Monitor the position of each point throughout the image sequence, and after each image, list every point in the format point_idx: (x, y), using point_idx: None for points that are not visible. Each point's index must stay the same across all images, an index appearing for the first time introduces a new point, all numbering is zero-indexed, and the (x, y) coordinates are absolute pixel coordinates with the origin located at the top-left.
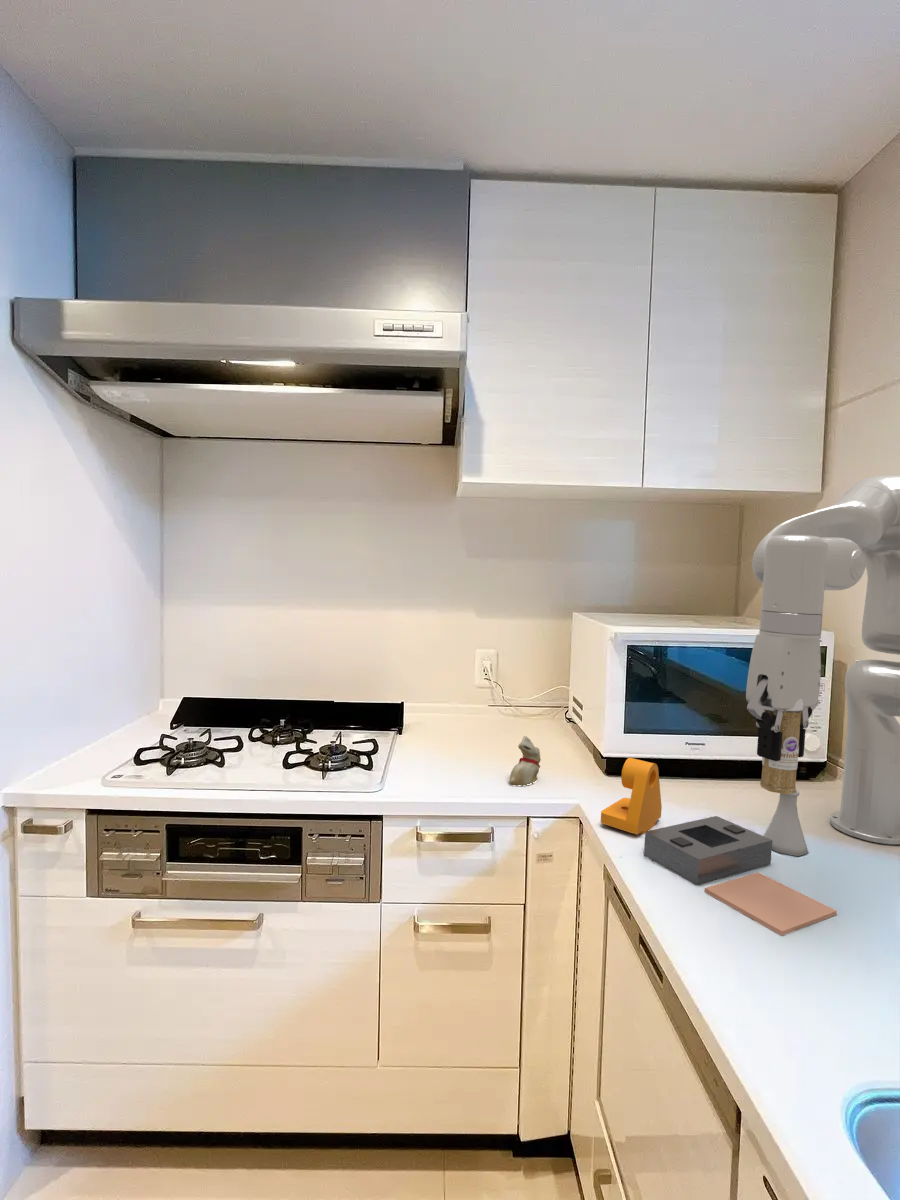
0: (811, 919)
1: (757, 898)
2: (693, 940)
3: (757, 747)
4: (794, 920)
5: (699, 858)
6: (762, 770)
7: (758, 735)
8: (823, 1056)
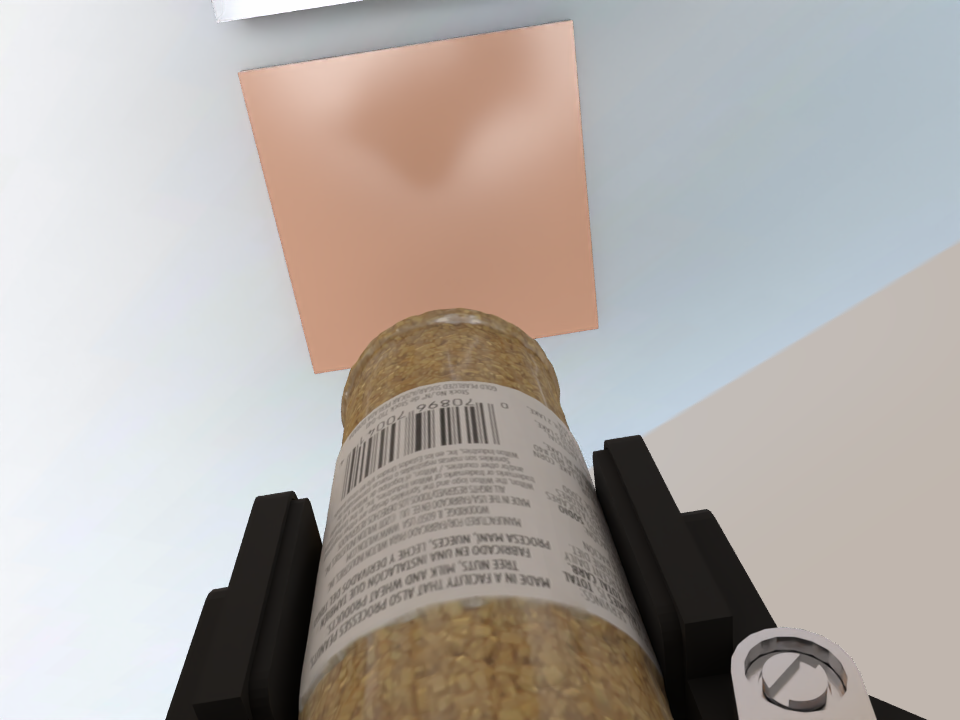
0: None
1: (393, 196)
2: (10, 320)
3: (248, 531)
4: None
5: (226, 13)
6: (363, 402)
7: (215, 628)
8: (74, 680)
